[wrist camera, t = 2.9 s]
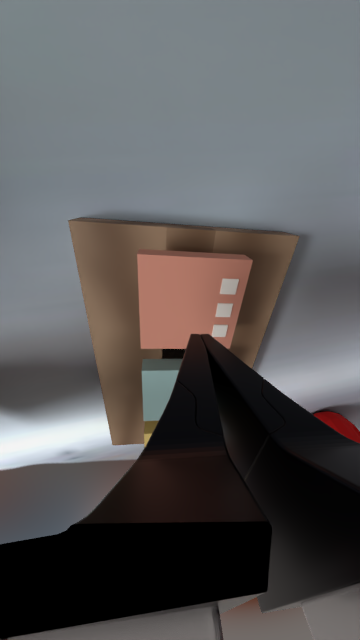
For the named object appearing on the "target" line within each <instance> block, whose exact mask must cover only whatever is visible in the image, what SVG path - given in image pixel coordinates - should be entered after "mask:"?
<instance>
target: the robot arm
mask: <svg viewBox="0 0 360 640" xmlns="http://www.w3.org/2000/svg"><path fill="white" fill-rule="evenodd" d="M255 597H257V598H258V602H259V606H260V609H261V612H262V613H266V612H271V611H278V610H284V609H290V608H296V607H302V609H303V611H304V614H305V617H306V620H307V623H308V626H309V628H310V631H311V634H312V637H313V640H360V443H358V442H355V441H353V440H351V439H349V438H347V437H345V436H344V435H342V434H340V433H339V432H337V431H336V430H334V429H333V428H331V427H330V426H328V425H327V424H325V423H324V422H323V421H321V420H320V419H318V418H317V417H315V416H314V415H313V414H311V413H310V412H308V411H307V410H305V409H304V408H302V407H301V406H300V405H298V404H297V403H295V402H294V401H293V400H291V399H290V398H288V397H287V396H286V395H284V394H283V393H282V392H280V391H279V390H278V389H277V388H275V387H274V386H273V385H271V384H270V383H269V382H268V381H267V380H265V379H264V378H263V377H261V376H260V375H259V374H258V373H257V372H255V371H254V370H253V369H252V368H250V367H249V366H248V365H247V364H245V363H244V362H243V361H242V360H241V359H239V358H238V357H237V356H236V355H234V354H233V353H232V352H231V351H229V350H228V349H227V348H226V347H224V346H223V345H222V344H221V343H220V342H218V341H217V340H216V339H215V338H213V337H212V336H211V335H210V334H191V335H190V338H189V341H188V344H187V347H186V350H185V353H184V356H183V360H182V363H181V366H180V369H179V372H178V375H177V378H176V382H175V384H174V388H173V390H172V393H171V396H170V399H169V401H168V403H167V405H166V407H165V409H164V412H163V414H162V415H161V417H160V419H159V421H158V423H157V425H156V427H155V429H154V431H153V433H152V435H151V437H150V439H149V441H148V443H147V444H146V446H145V448H144V450H143V451H142V453H141V455H140V456H139V458H138V459H137V461H136V462H135V463H134V464H133V465H132V467H131V468H130V469H129V470H128V471H127V472H126V474H124V476H123V477H122V478H121V479H120V480H119V481H118V482H117V484H116V485H115V486H114V487H113V488H112V489H111V491H110V492H109V493H108V494H107V495H106V496H105V497H104V498H103V499H102V501H101V502H100V503H99V504H98V505H97V506H96V507H95V509H94V510H92V512H90V514H88V515H87V516H86V517H85V518H83V519H82V520H80V521H79V522H77V523H75V524H73V525H71V526H70V527H69V528H68V529H67V530H66V531H64V532H62V533H60V534H57V535H52V536H45V537H40V538H34V539H29V540H23V541H17V542H11V543H6V544H1V545H0V640H223V633H222V627H221V620H220V614H221V613H223V612H225V611H228V610H230V609H232V608H234V607H236V606H238V605H240V604H242V603H244V602H247V601H249V600H251V599H253V598H255Z"/></svg>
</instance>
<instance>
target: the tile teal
mask: <svg viewBox="0 0 360 640" xmlns="http://www.w3.org/2000/svg"><path fill="white" fill-rule="evenodd" d="M182 360H183V359H143V362H142V393H143V419H144V421H157V420H159V419H160V417H161V415H162V414H163V412H164V409H165V407H166V405H167V403H168V401H169V399H170V396H171V393H172V390H173V388H174V384H175V382H176V378H177V375H178V372H179V369H180V366H181V363H182Z"/></svg>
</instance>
